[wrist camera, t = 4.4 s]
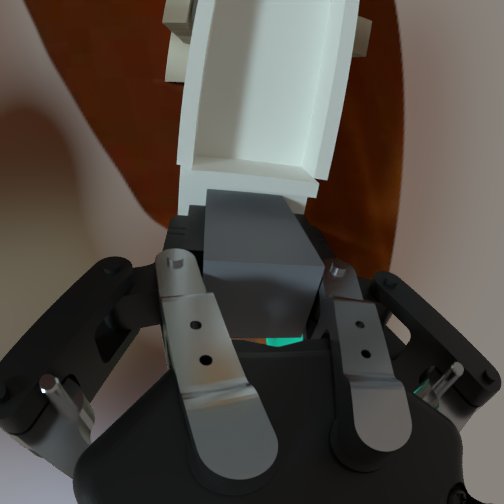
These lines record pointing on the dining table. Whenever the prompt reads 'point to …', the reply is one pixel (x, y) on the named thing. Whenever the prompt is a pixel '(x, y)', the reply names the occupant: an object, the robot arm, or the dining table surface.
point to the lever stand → (182, 26)
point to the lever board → (262, 149)
